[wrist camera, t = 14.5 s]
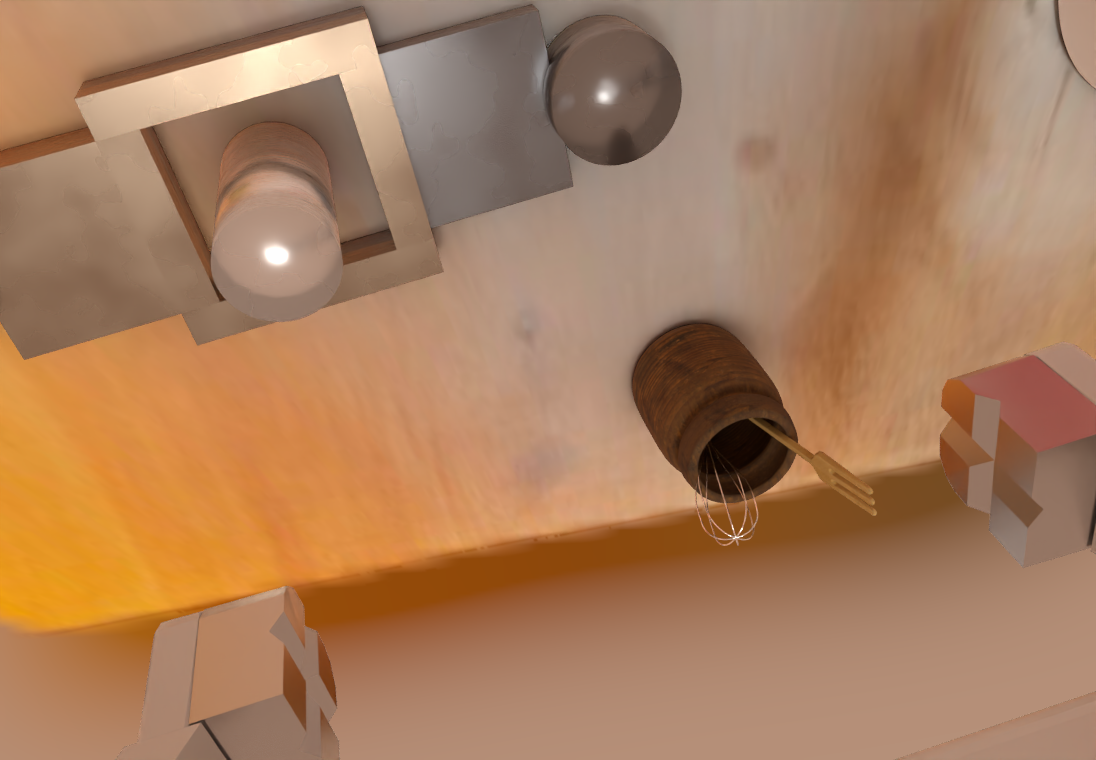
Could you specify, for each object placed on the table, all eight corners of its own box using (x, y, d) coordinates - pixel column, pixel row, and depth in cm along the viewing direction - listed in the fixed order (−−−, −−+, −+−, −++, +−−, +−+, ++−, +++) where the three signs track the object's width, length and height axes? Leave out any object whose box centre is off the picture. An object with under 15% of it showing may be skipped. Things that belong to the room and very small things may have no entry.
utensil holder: (612, 349, 45) (708, 517, 35) (735, 296, 45) (865, 448, 35) (645, 440, 48) (740, 614, 39) (759, 390, 48) (884, 552, 39)
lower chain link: (641, -70, 35) (664, -59, 33) (673, 180, 41) (695, 202, 39) (83, 81, 33) (71, 103, 31) (200, 320, 39) (196, 351, 37)
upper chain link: (362, 5, 34) (369, 22, 32) (436, 250, 40) (445, 277, 38) (-226, 165, 32) (-258, 193, 30) (-60, 397, 38) (-78, 433, 36)
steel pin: (310, 109, 36) (319, 191, 29) (343, 206, 38) (358, 301, 32) (203, 137, 35) (189, 227, 29) (243, 234, 38) (238, 336, 31)
